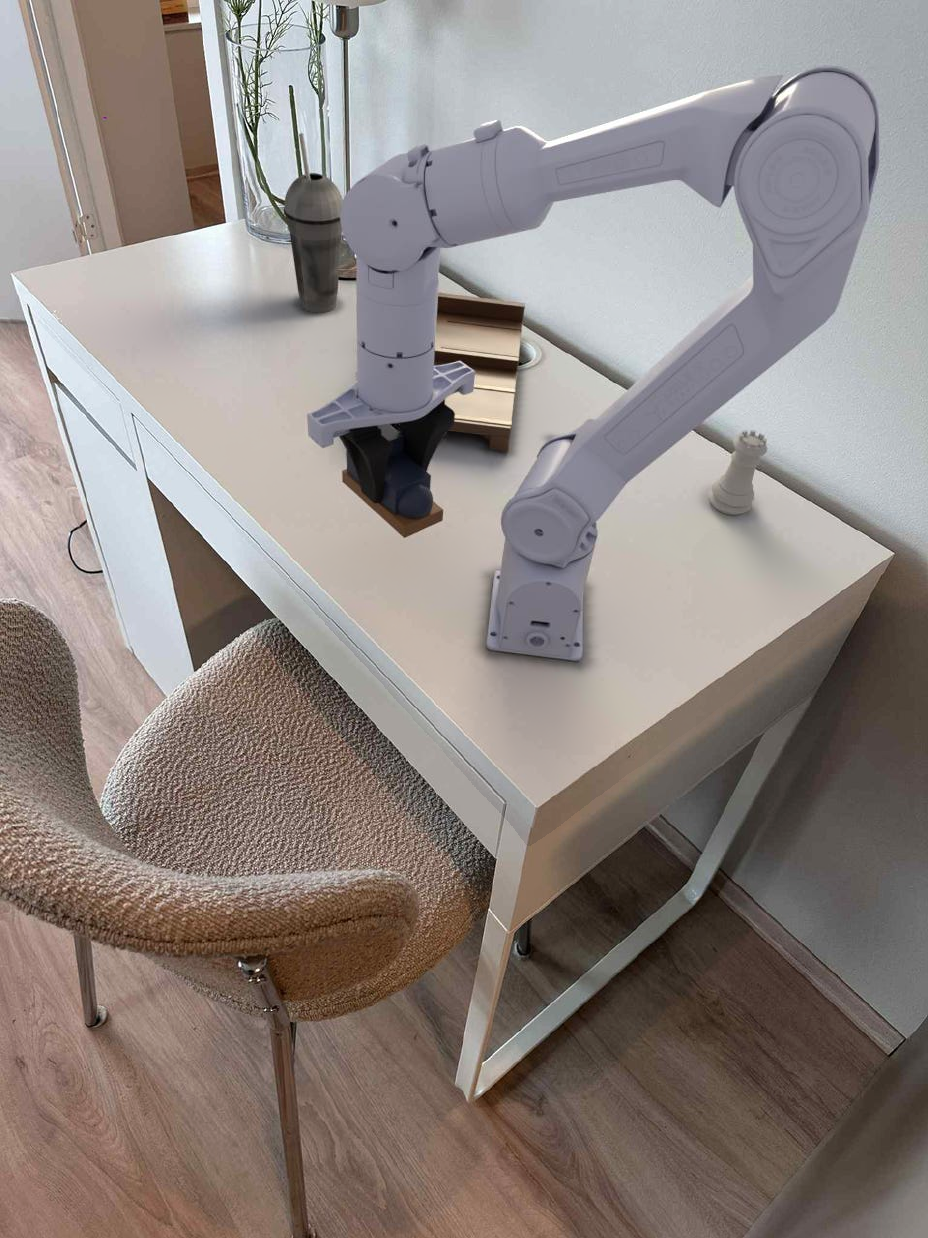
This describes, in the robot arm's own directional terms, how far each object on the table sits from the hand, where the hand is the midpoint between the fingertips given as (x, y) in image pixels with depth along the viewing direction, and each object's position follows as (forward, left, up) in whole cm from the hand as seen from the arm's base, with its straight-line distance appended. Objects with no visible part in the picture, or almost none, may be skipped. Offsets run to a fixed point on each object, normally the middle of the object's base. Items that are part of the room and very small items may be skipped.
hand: (392, 487), depth 74 cm
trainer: (0, 0, -1) cm, 1 cm away
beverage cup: (+46, +17, -8) cm, 50 cm away
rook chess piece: (+15, -32, -8) cm, 37 cm away
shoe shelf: (+31, -1, -8) cm, 32 cm away
